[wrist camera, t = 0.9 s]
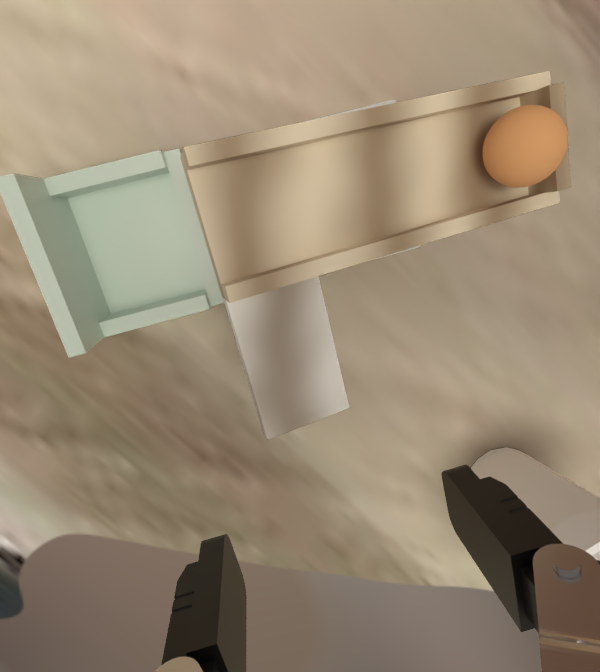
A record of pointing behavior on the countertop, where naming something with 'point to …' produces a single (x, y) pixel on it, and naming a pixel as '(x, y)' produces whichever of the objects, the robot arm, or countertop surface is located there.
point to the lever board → (344, 220)
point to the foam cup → (547, 496)
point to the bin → (113, 246)
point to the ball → (525, 146)
